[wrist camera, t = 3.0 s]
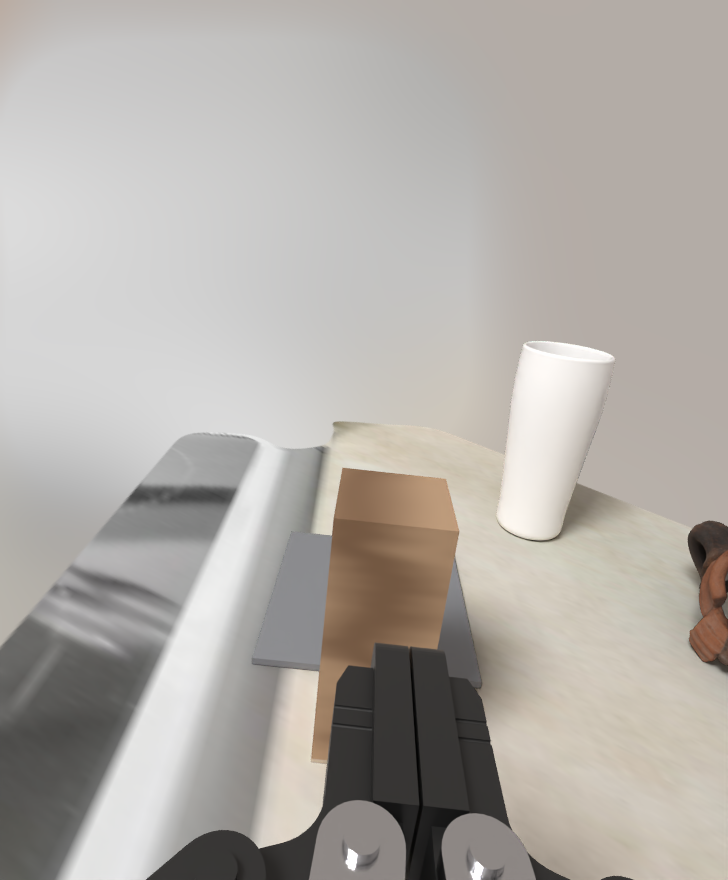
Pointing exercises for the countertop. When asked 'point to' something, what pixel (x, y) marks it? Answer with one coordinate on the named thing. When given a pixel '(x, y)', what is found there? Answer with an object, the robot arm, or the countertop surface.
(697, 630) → the brown jagged ring
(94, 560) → the countertop surface
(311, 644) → the mat
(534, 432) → the drinking glass
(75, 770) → the countertop surface
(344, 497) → the plain brown block
